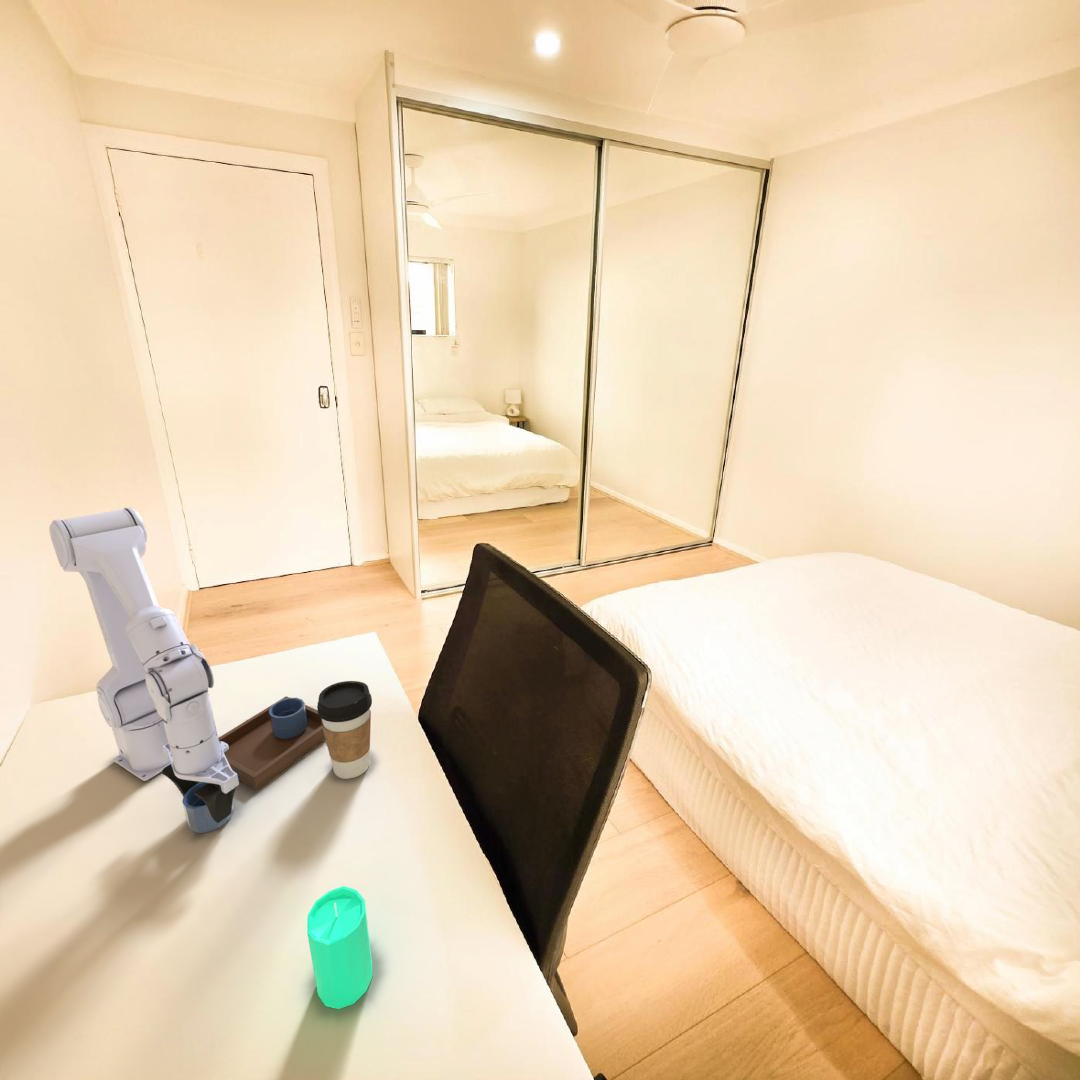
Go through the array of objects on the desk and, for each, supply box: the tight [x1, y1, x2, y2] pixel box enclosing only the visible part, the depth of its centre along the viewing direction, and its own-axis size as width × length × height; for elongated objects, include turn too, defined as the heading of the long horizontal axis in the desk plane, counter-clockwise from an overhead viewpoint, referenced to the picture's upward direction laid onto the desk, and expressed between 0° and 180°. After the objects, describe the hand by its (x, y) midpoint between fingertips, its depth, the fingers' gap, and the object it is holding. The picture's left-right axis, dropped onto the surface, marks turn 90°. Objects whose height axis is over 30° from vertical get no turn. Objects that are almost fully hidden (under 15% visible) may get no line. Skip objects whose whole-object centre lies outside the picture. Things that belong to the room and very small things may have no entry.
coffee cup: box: [316, 680, 373, 780], centre depth 88 cm, size 8×8×15 cm
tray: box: [218, 695, 326, 791], centre depth 94 cm, size 14×17×3 cm
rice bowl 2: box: [269, 697, 307, 739], centre depth 97 cm, size 6×6×5 cm
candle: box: [306, 885, 374, 1010], centre depth 58 cm, size 6×6×12 cm
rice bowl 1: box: [181, 782, 235, 834], centre depth 79 cm, size 6×6×5 cm
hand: (210, 808), depth 79 cm, fingers closed on rice bowl 1, 6 cm apart
